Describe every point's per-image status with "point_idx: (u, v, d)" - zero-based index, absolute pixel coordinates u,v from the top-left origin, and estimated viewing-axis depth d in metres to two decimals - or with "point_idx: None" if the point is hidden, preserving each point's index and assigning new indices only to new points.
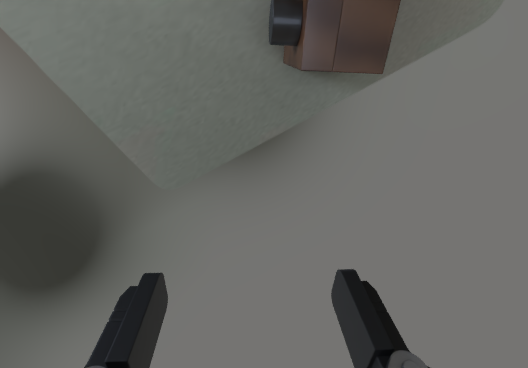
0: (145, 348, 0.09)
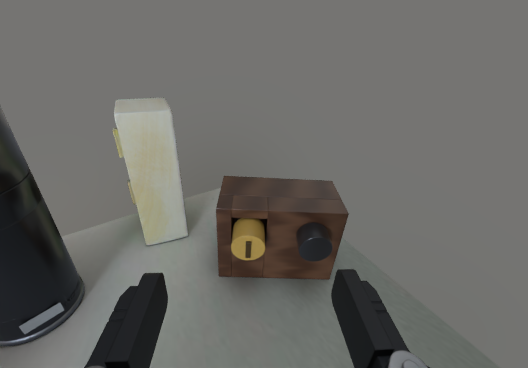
0: (145, 348, 0.09)
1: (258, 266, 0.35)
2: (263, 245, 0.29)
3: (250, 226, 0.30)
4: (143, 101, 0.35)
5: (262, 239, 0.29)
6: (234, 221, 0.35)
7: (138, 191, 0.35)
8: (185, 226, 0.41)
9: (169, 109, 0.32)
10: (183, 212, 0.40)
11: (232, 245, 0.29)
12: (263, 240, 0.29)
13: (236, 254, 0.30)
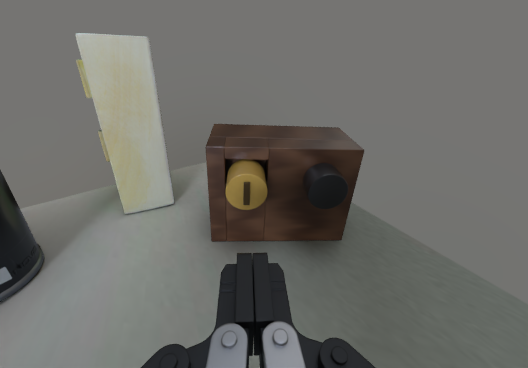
0: None
1: (259, 226, 0.30)
2: (265, 187, 0.24)
3: (248, 166, 0.24)
4: None
5: (264, 180, 0.24)
6: None
7: (111, 141, 0.29)
8: (170, 191, 0.35)
9: None
10: (167, 173, 0.34)
11: (227, 188, 0.24)
12: (265, 182, 0.24)
13: (232, 201, 0.24)
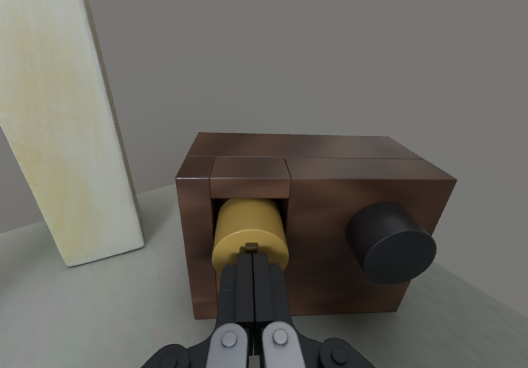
0: None
1: None
2: (285, 251, 0.13)
3: (253, 211, 0.13)
4: None
5: (283, 237, 0.13)
6: None
7: (30, 162, 0.18)
8: (137, 230, 0.24)
9: None
10: (131, 205, 0.23)
11: (214, 255, 0.13)
12: (284, 240, 0.13)
13: None
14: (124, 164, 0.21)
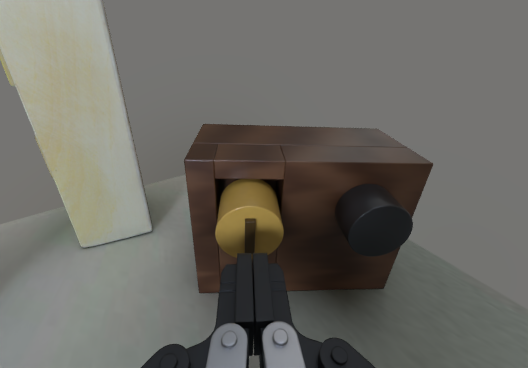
0: None
1: None
2: (280, 227, 0.15)
3: (252, 192, 0.15)
4: None
5: (278, 214, 0.15)
6: None
7: (52, 150, 0.20)
8: (146, 215, 0.26)
9: None
10: (141, 191, 0.25)
11: (218, 229, 0.14)
12: (279, 217, 0.15)
13: (227, 248, 0.15)
14: (135, 153, 0.23)
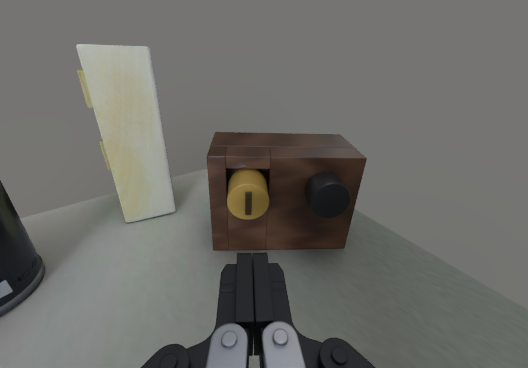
0: None
1: (261, 235, 0.29)
2: (267, 197, 0.24)
3: (249, 176, 0.24)
4: None
5: (266, 190, 0.24)
6: None
7: (112, 151, 0.29)
8: (172, 199, 0.35)
9: None
10: (169, 181, 0.34)
11: (228, 198, 0.23)
12: (266, 191, 0.24)
13: (234, 211, 0.24)
14: (166, 153, 0.32)
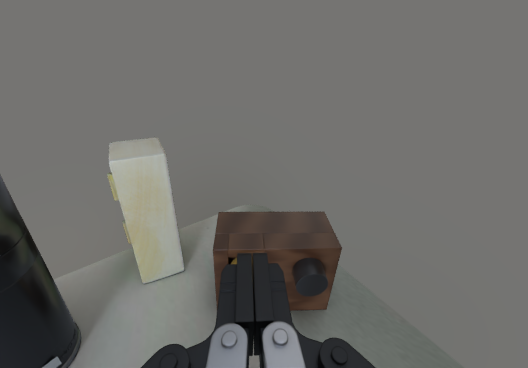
0: None
1: None
2: None
3: None
4: (137, 143, 0.36)
5: None
6: (231, 257, 0.35)
7: (134, 232, 0.35)
8: (181, 261, 0.41)
9: (163, 152, 0.33)
10: (179, 248, 0.40)
11: None
12: None
13: None
14: (177, 228, 0.38)
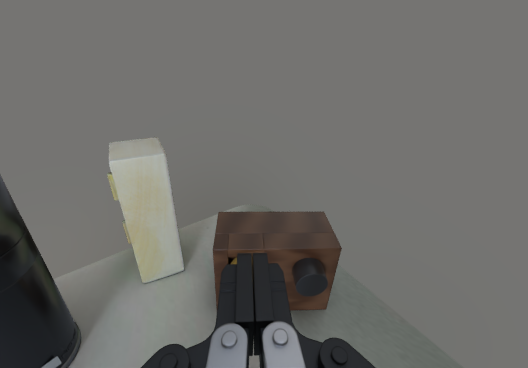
0: None
1: None
2: None
3: None
4: (137, 143, 0.36)
5: None
6: (230, 257, 0.35)
7: (133, 232, 0.35)
8: (181, 261, 0.41)
9: (163, 152, 0.33)
10: (179, 248, 0.40)
11: None
12: None
13: None
14: (177, 227, 0.38)
